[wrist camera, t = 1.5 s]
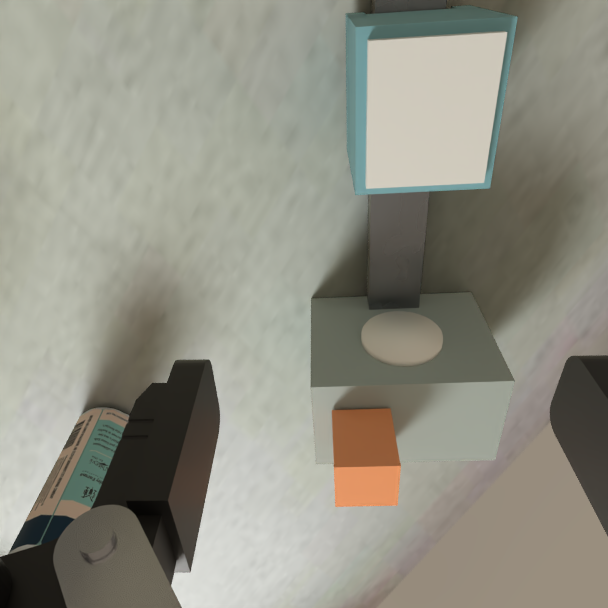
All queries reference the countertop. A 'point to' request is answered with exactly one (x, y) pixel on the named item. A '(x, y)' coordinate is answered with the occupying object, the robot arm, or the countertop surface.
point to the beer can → (74, 477)
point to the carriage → (425, 97)
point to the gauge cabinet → (411, 375)
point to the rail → (397, 221)
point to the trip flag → (365, 458)
